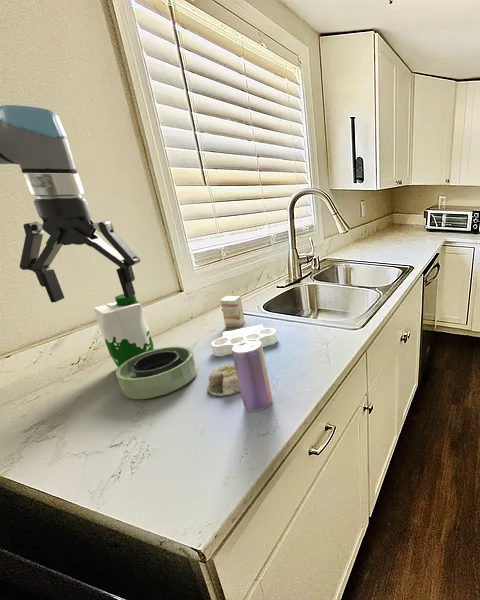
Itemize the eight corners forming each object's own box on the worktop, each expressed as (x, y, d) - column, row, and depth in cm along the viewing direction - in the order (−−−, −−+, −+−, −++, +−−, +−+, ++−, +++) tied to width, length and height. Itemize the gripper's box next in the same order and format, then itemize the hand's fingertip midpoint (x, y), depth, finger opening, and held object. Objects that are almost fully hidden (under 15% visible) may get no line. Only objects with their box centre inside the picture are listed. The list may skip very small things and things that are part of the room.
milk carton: (163, 363, 91) (142, 296, 84) (123, 378, 84) (97, 307, 77) (150, 354, 96) (129, 290, 88) (112, 368, 89) (86, 300, 82)
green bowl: (106, 398, 76) (97, 377, 74) (160, 363, 91) (154, 344, 88) (165, 404, 74) (158, 382, 72) (210, 367, 89) (205, 347, 87)
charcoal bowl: (127, 389, 78) (120, 370, 77) (160, 367, 88) (155, 349, 86) (163, 393, 77) (156, 373, 75) (193, 370, 86) (188, 352, 84)
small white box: (225, 327, 112) (219, 300, 109) (231, 322, 116) (225, 295, 113) (240, 327, 112) (234, 300, 109) (245, 321, 116) (240, 295, 113)
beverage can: (259, 415, 71) (247, 354, 65) (238, 408, 73) (224, 349, 67) (277, 398, 76) (267, 341, 70) (257, 393, 78) (246, 337, 72)
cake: (234, 371, 88) (231, 353, 86) (260, 381, 83) (259, 362, 82) (198, 389, 79) (194, 369, 77) (225, 401, 75) (223, 380, 73)
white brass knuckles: (272, 328, 111) (280, 347, 99) (213, 341, 103) (213, 363, 91) (271, 319, 109) (279, 337, 97) (210, 331, 101) (210, 352, 89)
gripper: (-40, 198, 58) (10, 308, 66) (122, 198, 63) (151, 299, 71) (-2, 196, 65) (40, 296, 72) (141, 195, 70) (166, 288, 78)
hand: (95, 298), depth 72 cm, fingers open, 13 cm apart
